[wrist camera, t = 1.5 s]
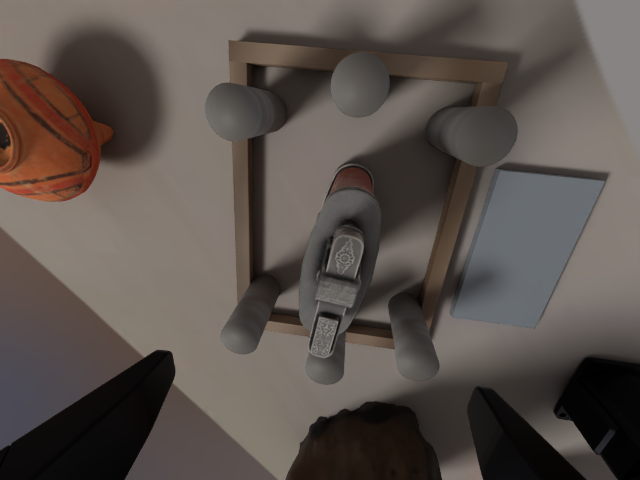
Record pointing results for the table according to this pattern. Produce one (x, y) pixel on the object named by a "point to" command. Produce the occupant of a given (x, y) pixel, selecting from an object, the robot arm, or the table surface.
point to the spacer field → (356, 101)
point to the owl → (366, 447)
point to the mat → (522, 245)
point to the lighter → (339, 257)
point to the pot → (45, 136)
